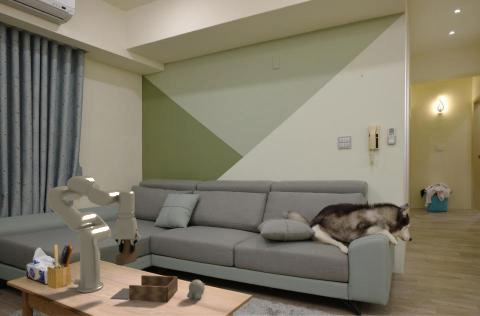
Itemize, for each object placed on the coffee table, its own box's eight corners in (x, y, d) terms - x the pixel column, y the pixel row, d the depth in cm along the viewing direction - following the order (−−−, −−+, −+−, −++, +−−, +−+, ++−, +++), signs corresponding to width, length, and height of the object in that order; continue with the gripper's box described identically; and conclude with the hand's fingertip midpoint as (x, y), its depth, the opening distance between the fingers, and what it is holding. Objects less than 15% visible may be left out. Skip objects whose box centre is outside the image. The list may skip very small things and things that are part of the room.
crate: (129, 300, 152) (129, 285, 152) (142, 288, 166) (142, 275, 166) (167, 302, 149) (167, 287, 149) (177, 290, 163) (177, 276, 163)
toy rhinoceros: (208, 300, 157) (211, 281, 160) (197, 299, 147) (201, 280, 150) (195, 297, 160) (198, 279, 163) (184, 297, 149) (187, 278, 152)
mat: (110, 298, 154) (110, 298, 154) (123, 288, 166) (123, 288, 166) (128, 299, 153) (128, 298, 153) (139, 289, 165) (139, 288, 165)
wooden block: (121, 266, 154) (120, 228, 155) (115, 264, 157) (114, 227, 157) (137, 261, 162) (135, 225, 163) (131, 260, 164) (129, 224, 165)
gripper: (106, 216, 157) (106, 254, 157) (139, 217, 155) (139, 255, 155) (114, 214, 164) (114, 249, 164) (146, 214, 162) (146, 250, 162)
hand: (126, 252), depth 159 cm, fingers closed on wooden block, 5 cm apart
